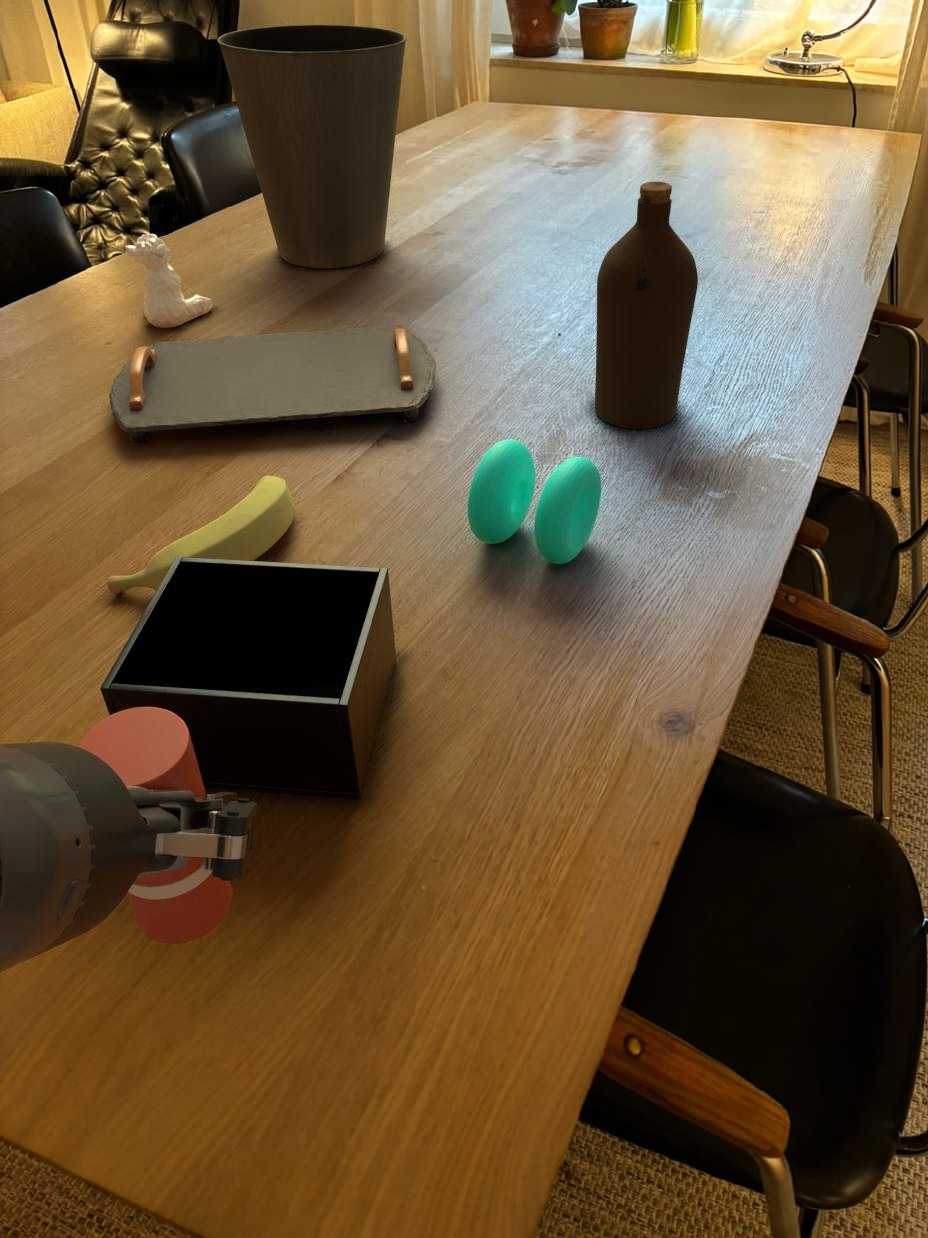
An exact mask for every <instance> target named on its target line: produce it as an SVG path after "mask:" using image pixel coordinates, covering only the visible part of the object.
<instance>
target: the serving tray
mask: <svg viewBox="0 0 928 1238" xmlns="http://www.w3.org/2000/svg"><path fill="white" fill-rule="evenodd" d="M436 371H437V364H436V361H435V358H434V355H433V354H432V352H431V351H430V350H429V349H428V346H427V345H426V343H424V341H423V340H422V339H421V338H420V337H418V336H417V334H416V333H413V332H412V331H411V330H410V329H409V328H407V327H404V326H401V325H384V326H383V325H382V326H381V325H380V326H364V327H350V328H349V327H348V328H333V329H323V330H317V331H315V330H313V331H288V332H273V333H265V334H264V333H263V334H262V333H261V334H252V335H239V336H234V335H229V336H222V337H221V336H220V337H211V338H198V339H182V340H170V341H159V342H153V343H151V344H149V345H147V346H140V347H139V346H138V347H137V348H136V349H135V351H134V353H133V355H132V357H131V358H130V359H129V361H128V362H126V364H124V365H123V366H122V369H121V371H119V373H118V374H116V376H115V377H114V380H113V384H112V385H111V388H110V392H109V396H108V398H109V405H110V410H111V414H112V416H113V417H114V419H115V420H116V421H117V424H118V426H119V428H120V429H121V430H123V431H124V432H126V433H127V435H128V438H129V439H130V440H131V441H133V443H134V444H136V445H141V444H144V443H146V442H147V439H148V438H149V437H148V436H149V432H154V431H172V430H180V429H181V430H182V429H183V430H184V429H195V428H208V427H209V428H211V427H220V426H221V427H222V426H234V425H250V424H259V423H274V422H275V423H276V422H284V421H285V422H286V421H287V422H288V421H298V420H314V419H324V418H325V419H327V418H337V417H349V416H351V417H352V416H362V415H376V414H389V413H399V414H400V417H401V418H402V419H403V421H404V422H405V423H408V424H411V423H415V422H416V419H417V418H418V417H419V408H420V407H421V406H422V405H423V404H424V403H425V402H426V401H427V400H428V398H429V396H430V393H431V392H432V391H433V388H434V386H435V383H436V380H435V377H436V374H437V373H436Z"/></svg>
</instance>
